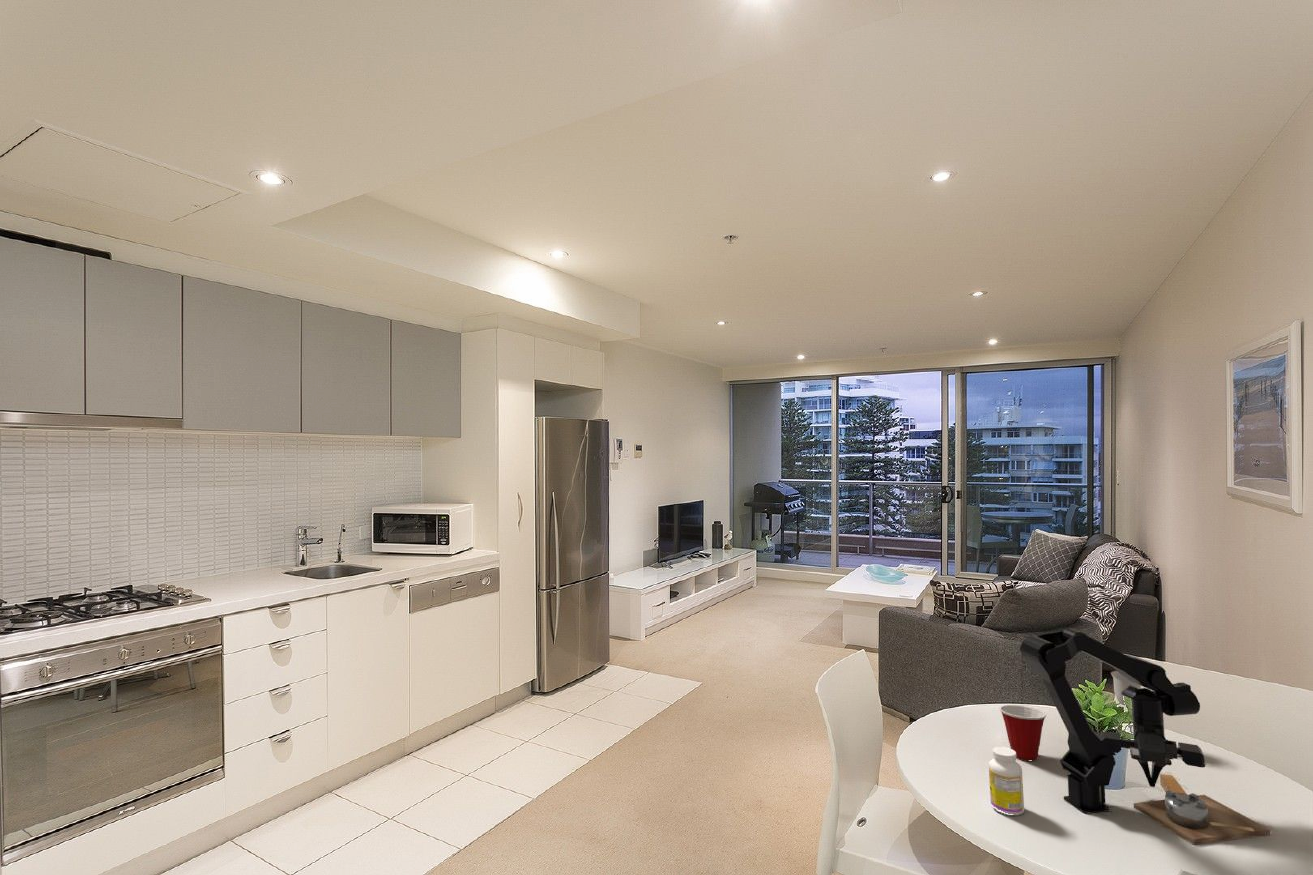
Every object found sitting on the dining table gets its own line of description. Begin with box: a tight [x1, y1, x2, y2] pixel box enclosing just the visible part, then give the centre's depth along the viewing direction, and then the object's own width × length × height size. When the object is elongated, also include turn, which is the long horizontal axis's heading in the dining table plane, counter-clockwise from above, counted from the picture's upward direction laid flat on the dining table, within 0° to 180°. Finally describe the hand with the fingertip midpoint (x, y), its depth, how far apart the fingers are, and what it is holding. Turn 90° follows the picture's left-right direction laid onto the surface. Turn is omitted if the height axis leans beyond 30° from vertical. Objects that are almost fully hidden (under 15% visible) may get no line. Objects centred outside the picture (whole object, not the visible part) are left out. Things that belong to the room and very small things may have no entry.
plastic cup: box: [999, 704, 1047, 762], centre depth 171 cm, size 11×11×12 cm
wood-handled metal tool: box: [1159, 773, 1209, 828], centre depth 142 cm, size 16×7×4 cm, turn 158°
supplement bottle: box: [988, 746, 1025, 816], centre depth 147 cm, size 7×7×13 cm
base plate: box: [1133, 794, 1272, 845], centre depth 140 cm, size 18×14×1 cm
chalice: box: [1110, 670, 1142, 733], centre depth 177 cm, size 7×7×18 cm
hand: (1151, 786), depth 148 cm, fingers closed
